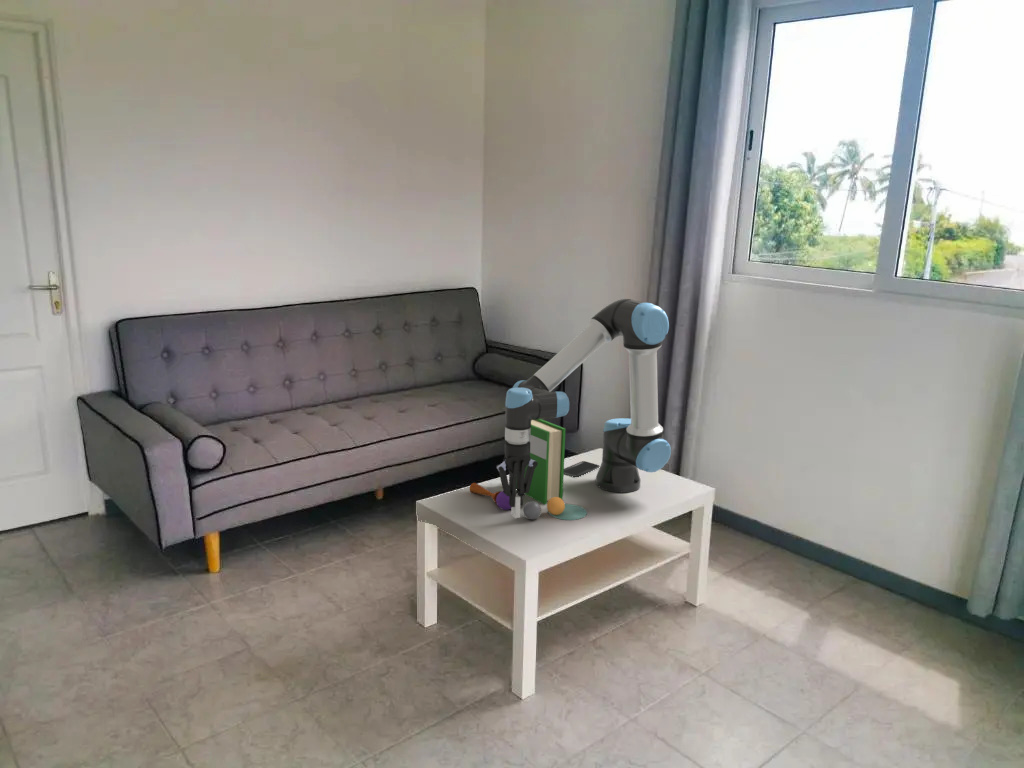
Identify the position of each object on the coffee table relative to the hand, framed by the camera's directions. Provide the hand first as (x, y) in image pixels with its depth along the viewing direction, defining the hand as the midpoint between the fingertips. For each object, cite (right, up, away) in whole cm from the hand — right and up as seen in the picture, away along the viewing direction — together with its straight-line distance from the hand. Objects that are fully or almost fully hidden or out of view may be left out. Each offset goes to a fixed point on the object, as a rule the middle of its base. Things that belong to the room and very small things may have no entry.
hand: (515, 515), depth 225 cm
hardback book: (+7, +3, +23) cm, 24 cm away
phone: (+23, +8, +46) cm, 52 cm away
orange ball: (+12, +2, +6) cm, 14 cm away
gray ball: (+5, +1, +2) cm, 6 cm away
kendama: (-8, +2, +16) cm, 17 cm away
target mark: (+16, 0, +8) cm, 18 cm away
